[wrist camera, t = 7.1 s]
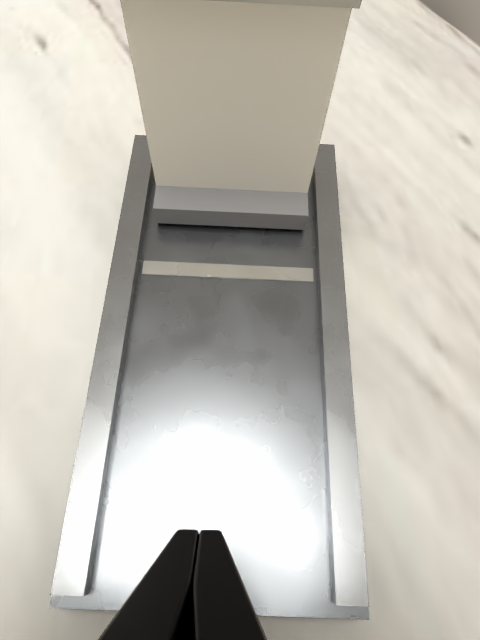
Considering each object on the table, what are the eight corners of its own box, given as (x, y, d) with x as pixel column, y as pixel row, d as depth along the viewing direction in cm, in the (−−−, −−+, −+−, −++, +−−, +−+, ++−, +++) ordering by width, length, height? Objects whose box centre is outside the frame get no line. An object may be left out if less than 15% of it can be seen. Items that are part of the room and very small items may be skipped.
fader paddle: (308, 230, 25) (373, -9, 14) (152, 222, 24) (95, -24, 14) (305, 160, 27) (360, -93, 16) (162, 153, 27) (120, -107, 16)
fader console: (355, 612, 19) (375, 623, 17) (66, 601, 19) (41, 611, 16) (327, 173, 29) (337, 138, 27) (140, 164, 29) (132, 128, 27)
